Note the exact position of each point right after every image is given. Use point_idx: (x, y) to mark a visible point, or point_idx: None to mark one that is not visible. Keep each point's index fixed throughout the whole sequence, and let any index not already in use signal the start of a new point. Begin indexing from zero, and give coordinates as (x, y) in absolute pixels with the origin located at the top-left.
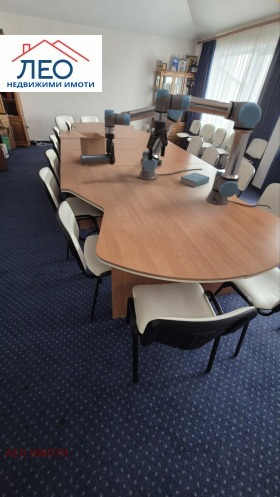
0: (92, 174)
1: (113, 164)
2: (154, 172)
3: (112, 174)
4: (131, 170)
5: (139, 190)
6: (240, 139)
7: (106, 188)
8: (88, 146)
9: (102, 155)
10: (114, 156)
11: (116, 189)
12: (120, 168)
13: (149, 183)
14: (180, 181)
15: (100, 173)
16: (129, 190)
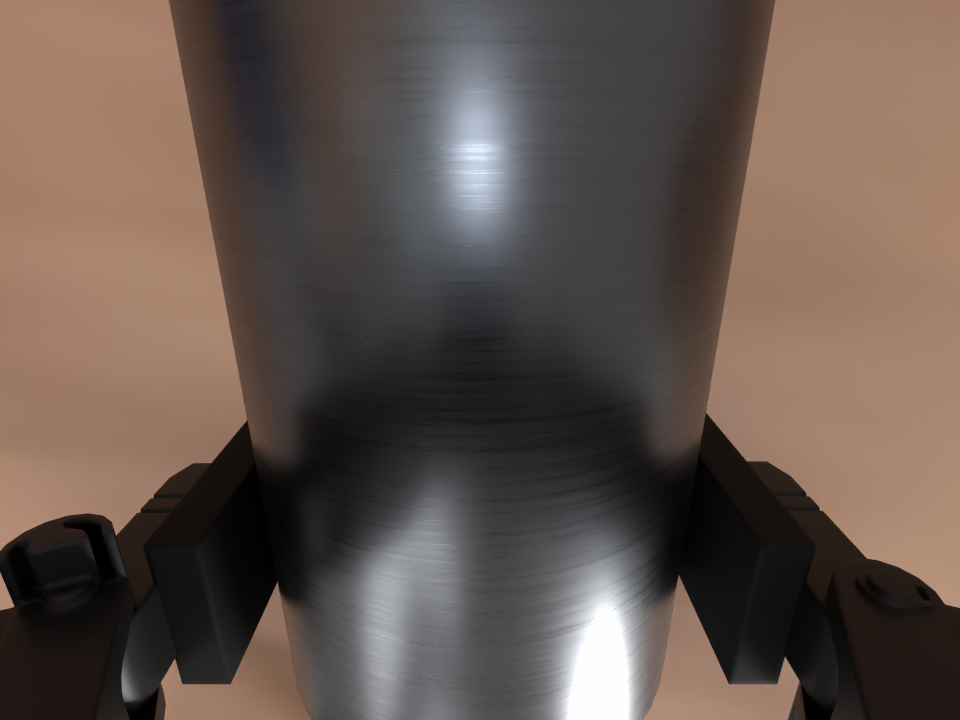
0: (912, 17)
1: None
2: None
3: (738, 395)
4: (784, 682)
5: (12, 526)
6: None
7: (88, 78)
8: None
9: (284, 83)
10: (313, 711)
11: (42, 239)
12: (944, 587)
13: (252, 699)
14: None
15: (885, 207)
16: (7, 410)
